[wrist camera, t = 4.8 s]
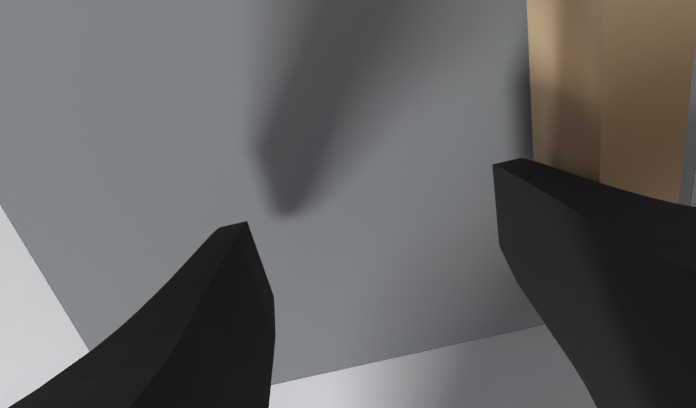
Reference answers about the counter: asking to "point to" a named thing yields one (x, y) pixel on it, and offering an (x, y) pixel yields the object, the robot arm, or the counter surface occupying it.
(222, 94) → the mat
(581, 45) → the gate
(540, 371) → the counter surface
